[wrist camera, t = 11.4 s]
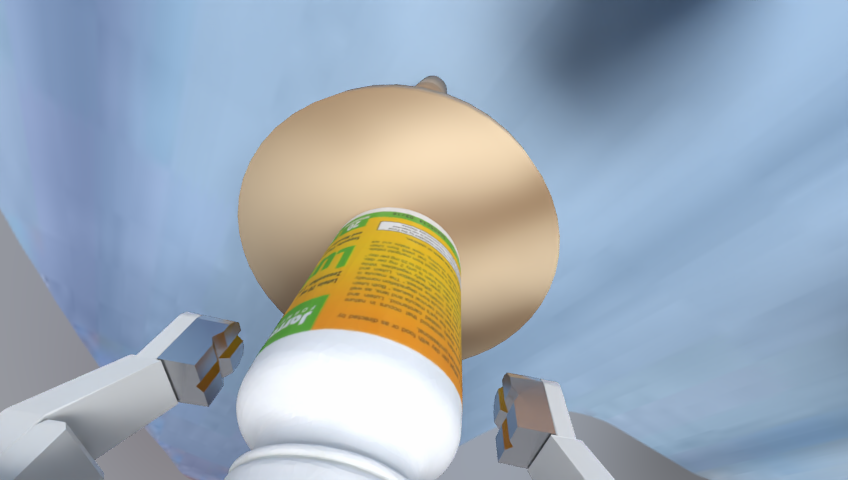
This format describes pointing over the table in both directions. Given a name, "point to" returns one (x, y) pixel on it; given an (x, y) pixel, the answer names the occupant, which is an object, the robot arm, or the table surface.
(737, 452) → the table surface
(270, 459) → the supplement bottle
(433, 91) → the stool
